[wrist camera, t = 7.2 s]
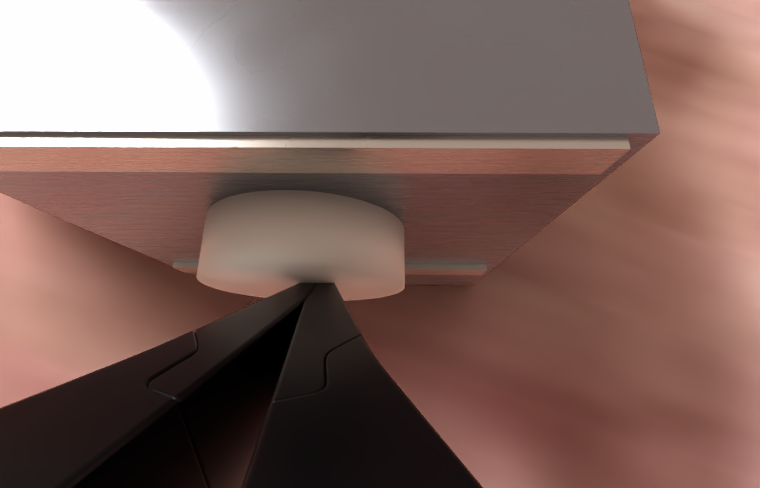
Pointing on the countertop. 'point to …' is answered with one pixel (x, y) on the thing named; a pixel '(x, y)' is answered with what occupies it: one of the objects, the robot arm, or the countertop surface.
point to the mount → (320, 115)
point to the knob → (301, 244)
